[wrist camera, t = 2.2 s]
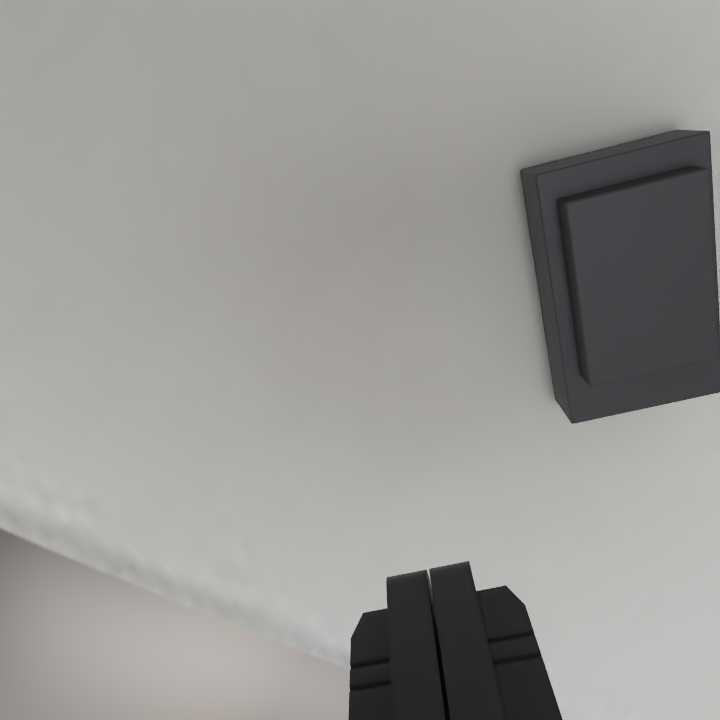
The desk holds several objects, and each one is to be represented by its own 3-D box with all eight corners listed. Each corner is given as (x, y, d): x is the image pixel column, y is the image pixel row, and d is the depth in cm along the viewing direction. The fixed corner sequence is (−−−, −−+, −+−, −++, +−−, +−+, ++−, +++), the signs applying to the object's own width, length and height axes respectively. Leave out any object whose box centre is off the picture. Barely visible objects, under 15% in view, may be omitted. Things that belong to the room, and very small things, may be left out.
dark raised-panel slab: (519, 169, 24) (543, 177, 21) (678, 129, 24) (728, 131, 21) (554, 399, 28) (580, 437, 25) (694, 369, 27) (739, 403, 24)
